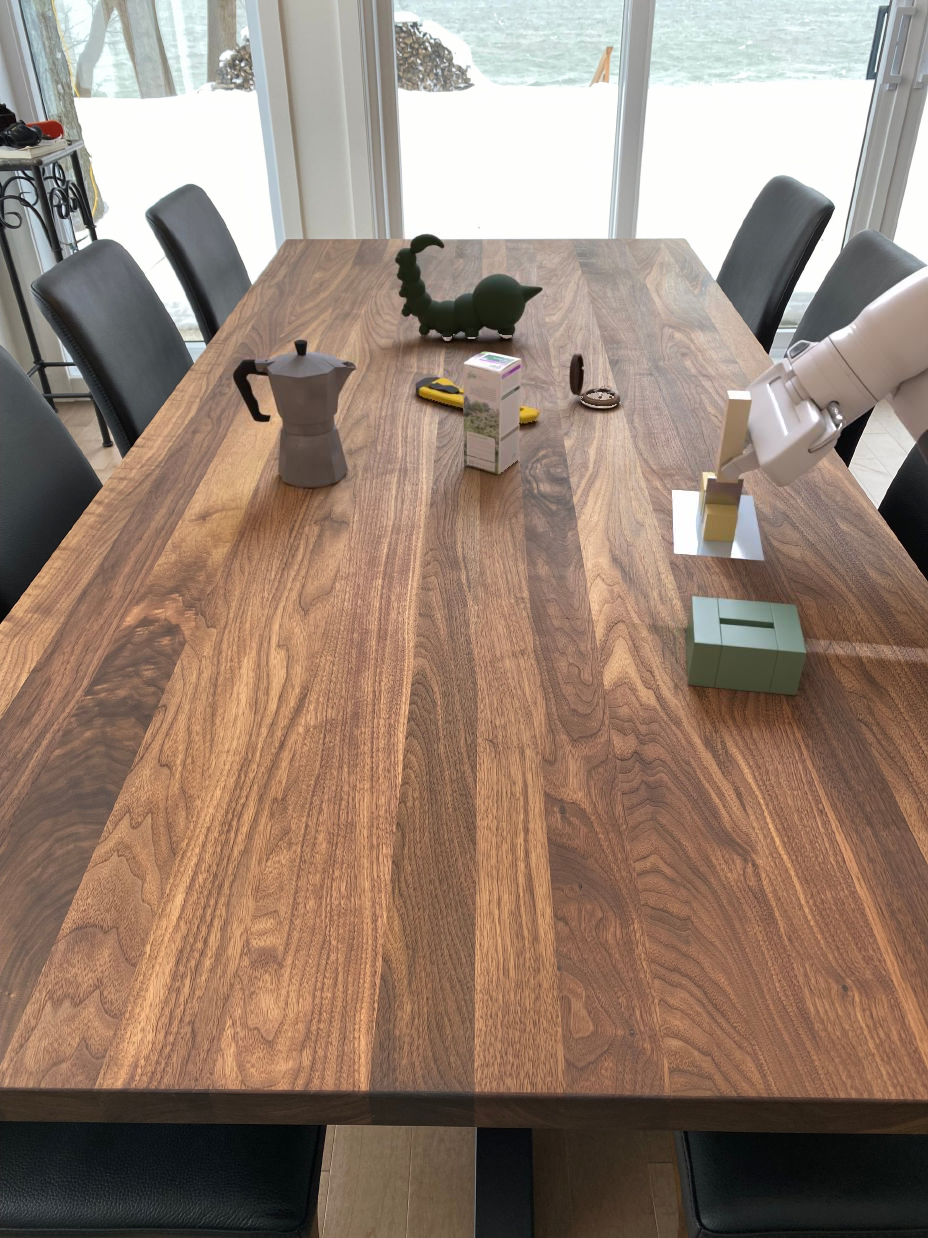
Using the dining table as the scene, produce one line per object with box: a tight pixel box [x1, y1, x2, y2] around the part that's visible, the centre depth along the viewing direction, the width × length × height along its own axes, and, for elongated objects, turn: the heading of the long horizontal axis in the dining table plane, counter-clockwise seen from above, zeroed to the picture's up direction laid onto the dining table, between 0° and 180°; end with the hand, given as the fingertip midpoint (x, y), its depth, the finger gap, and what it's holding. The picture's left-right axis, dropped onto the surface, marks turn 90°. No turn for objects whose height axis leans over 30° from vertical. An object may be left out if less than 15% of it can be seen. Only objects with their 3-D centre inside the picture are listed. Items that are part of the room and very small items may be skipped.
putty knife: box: [701, 390, 752, 523], centre depth 110 cm, size 4×2×16 cm, turn 82°
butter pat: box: [702, 504, 738, 542], centre depth 113 cm, size 4×2×4 cm
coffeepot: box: [232, 338, 357, 489], centre depth 125 cm, size 15×9×18 cm, turn 92°
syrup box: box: [462, 351, 522, 475], centre depth 128 cm, size 6×6×14 cm
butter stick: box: [698, 471, 715, 516], centre depth 119 cm, size 4×5×4 cm
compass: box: [568, 353, 621, 406], centre depth 149 cm, size 8×8×7 cm
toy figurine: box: [394, 233, 544, 338], centre depth 170 cm, size 9×19×25 cm
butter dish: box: [671, 489, 765, 562], centre depth 117 cm, size 10×16×1 cm, turn 171°
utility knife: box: [415, 376, 540, 425], centre depth 149 cm, size 7×22×2 cm, turn 55°
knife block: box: [684, 595, 808, 696], centre depth 94 cm, size 8×10×5 cm
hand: (722, 466), depth 110 cm, fingers closed on putty knife, 2 cm apart
